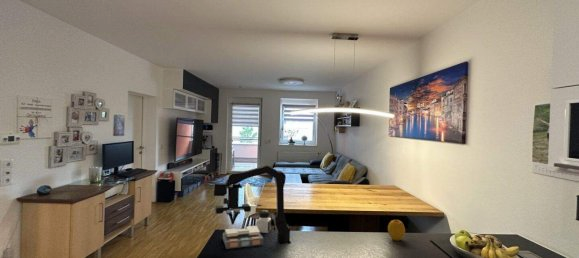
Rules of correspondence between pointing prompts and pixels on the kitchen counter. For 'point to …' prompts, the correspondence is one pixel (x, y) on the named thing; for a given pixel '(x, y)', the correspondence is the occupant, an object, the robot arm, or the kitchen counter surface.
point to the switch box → (242, 240)
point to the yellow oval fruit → (396, 230)
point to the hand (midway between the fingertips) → (232, 224)
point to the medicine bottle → (264, 222)
